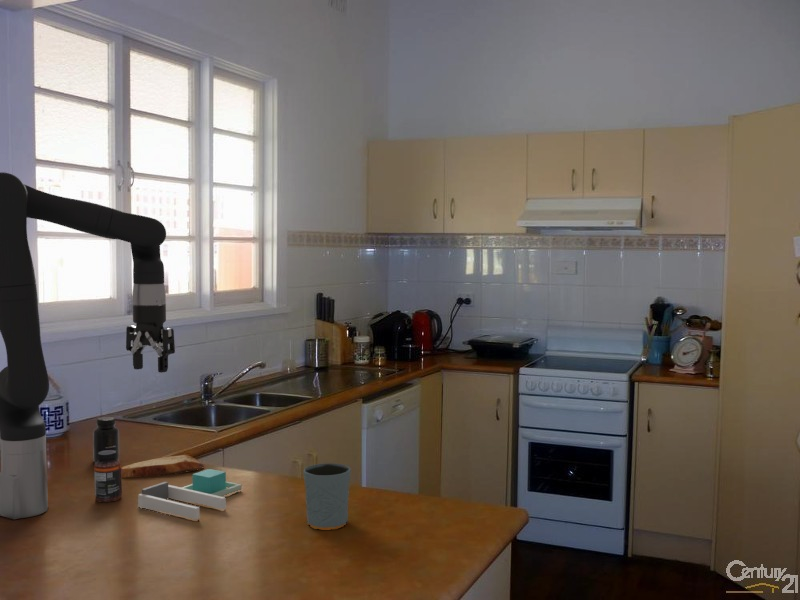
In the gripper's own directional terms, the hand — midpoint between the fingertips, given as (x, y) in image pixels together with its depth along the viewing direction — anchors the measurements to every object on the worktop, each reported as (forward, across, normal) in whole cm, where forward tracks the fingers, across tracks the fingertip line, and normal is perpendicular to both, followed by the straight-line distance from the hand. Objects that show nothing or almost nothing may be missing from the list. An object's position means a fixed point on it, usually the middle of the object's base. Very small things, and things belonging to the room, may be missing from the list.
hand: (150, 370), depth 188 cm
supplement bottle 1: (+30, -35, +14) cm, 48 cm away
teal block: (+29, +11, +8) cm, 32 cm away
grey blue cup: (+30, +48, +6) cm, 57 cm away
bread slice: (+31, -14, +15) cm, 37 cm away
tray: (+30, +12, +8) cm, 33 cm away
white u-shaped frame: (+30, +14, -4) cm, 34 cm away
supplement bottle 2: (+30, -6, -8) cm, 32 cm away
